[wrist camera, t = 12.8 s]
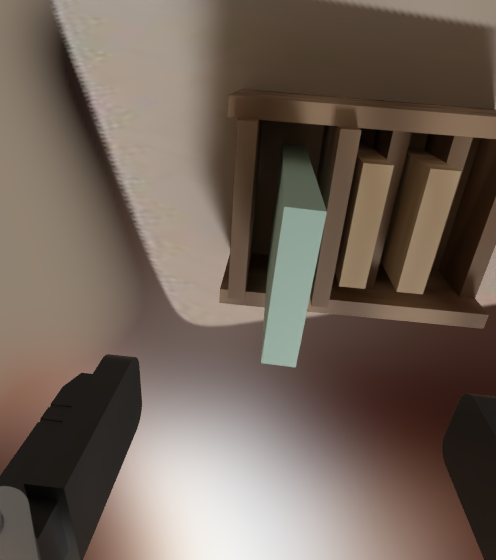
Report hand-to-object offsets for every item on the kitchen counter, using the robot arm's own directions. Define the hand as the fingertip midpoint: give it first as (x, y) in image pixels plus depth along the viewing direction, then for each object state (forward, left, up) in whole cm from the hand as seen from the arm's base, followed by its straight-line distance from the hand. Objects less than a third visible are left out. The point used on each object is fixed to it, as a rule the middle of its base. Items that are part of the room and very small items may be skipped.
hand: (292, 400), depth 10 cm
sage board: (0, 0, -20) cm, 20 cm away
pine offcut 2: (-7, 0, -20) cm, 21 cm away
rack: (-4, 0, -22) cm, 22 cm away
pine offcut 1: (-4, 0, -20) cm, 21 cm away
